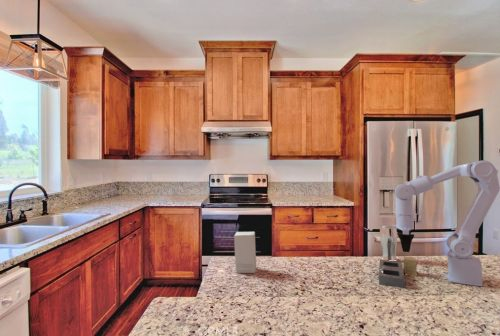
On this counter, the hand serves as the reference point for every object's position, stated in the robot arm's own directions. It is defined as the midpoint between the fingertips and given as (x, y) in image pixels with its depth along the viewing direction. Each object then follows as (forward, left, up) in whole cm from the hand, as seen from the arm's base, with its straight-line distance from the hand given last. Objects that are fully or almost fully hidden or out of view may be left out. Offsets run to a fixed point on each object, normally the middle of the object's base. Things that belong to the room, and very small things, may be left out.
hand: (405, 249), depth 106 cm
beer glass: (+6, -15, -10) cm, 19 cm away
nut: (-1, 0, -9) cm, 9 cm away
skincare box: (+59, +24, -10) cm, 64 cm away
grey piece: (+5, +6, -9) cm, 12 cm away
